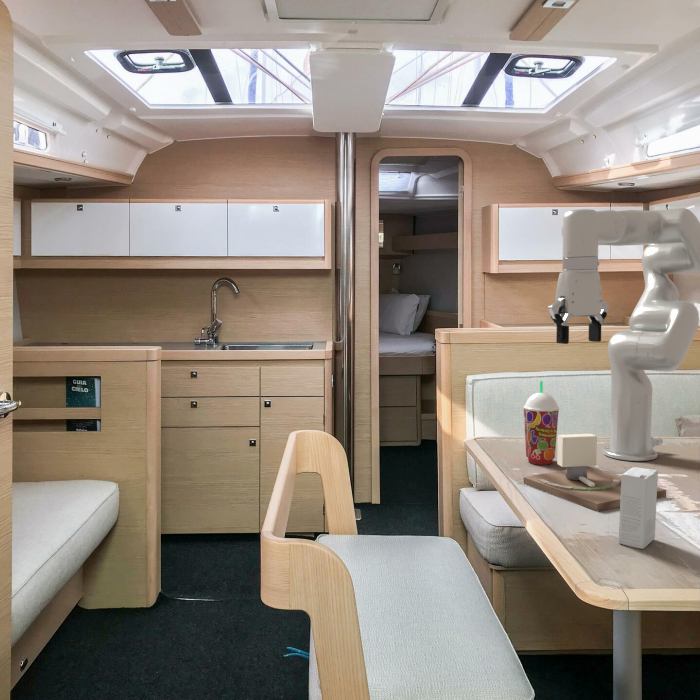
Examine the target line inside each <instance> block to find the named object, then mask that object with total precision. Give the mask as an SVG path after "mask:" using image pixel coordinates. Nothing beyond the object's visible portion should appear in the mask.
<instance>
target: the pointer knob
mask: <svg viewBox="0 0 700 700" xmlns="http://www.w3.org/2000/svg"><path fill="white" fill-rule="evenodd" d="M556 447H557V448H556V449H557V451H556V453H557V454H556V457H557V459H556V461H557V463H556V464H557V465H558V466H560V467H562V468H565V470H566V478H568V479H571V480H581V481H582V482H584V483H585V484H587V485H589V486H590V487H592V486H595V483H593V482H591V481H590V480H588V479H587V466H589V467H593V466H595V467H596V466H597V456H598V455H597V453H598V452H597V448H598V436H597V435H595V434H594V433H580V434H579V433H573V434H571V433H569V434H568V433H567V434H557V446H556Z"/></svg>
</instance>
